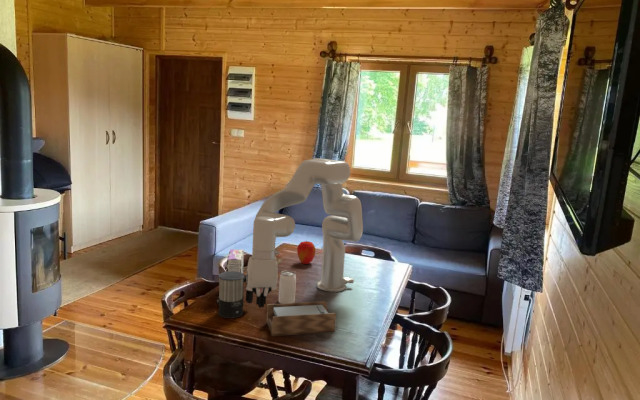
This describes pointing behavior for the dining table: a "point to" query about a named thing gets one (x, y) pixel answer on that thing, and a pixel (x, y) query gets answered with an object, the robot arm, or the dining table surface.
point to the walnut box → (300, 321)
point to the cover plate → (299, 310)
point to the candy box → (235, 260)
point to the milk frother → (232, 294)
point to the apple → (306, 252)
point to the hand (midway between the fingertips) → (260, 306)
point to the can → (287, 287)
